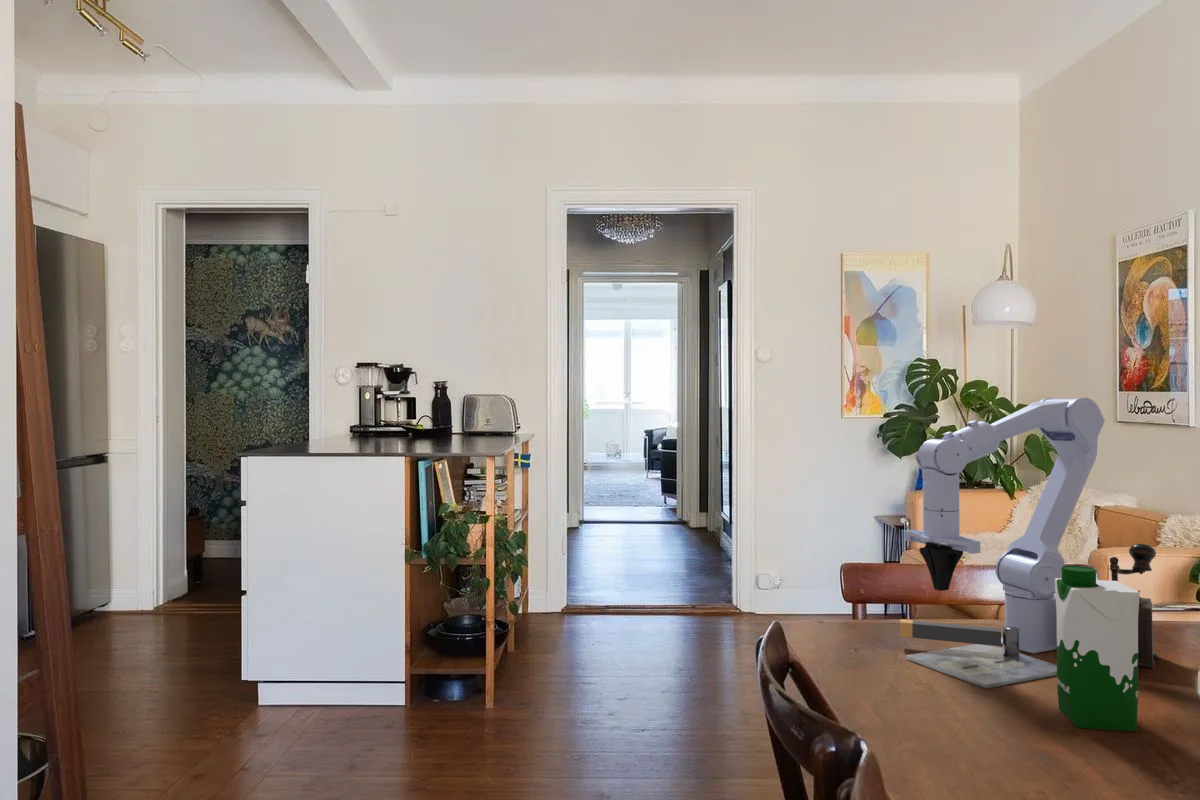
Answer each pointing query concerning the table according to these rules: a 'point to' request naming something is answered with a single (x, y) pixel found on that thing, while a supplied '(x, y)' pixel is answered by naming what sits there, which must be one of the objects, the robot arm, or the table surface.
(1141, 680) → the table surface
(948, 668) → the tray base
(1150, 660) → the manual coffee grinder
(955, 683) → the table surface
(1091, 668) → the milk carton
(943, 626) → the swing arm
